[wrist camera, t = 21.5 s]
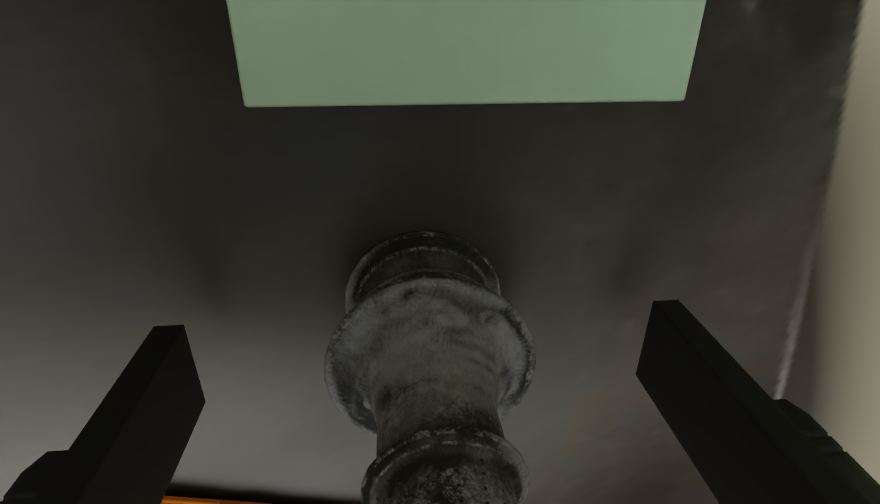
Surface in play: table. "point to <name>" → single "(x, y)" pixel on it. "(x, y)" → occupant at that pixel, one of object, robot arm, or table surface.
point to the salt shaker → (432, 372)
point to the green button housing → (462, 51)
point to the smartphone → (200, 501)
